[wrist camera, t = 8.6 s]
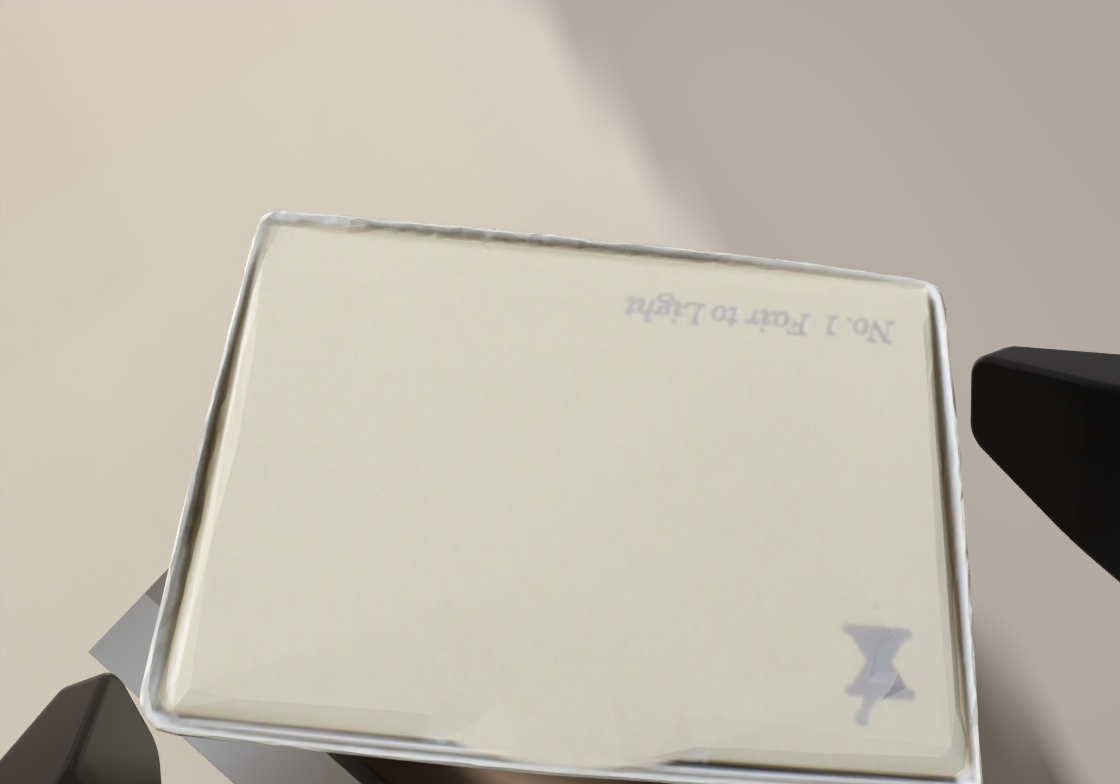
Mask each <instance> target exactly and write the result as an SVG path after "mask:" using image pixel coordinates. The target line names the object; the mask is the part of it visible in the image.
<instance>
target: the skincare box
mask: <svg viewBox="0 0 1120 784" xmlns="http://www.w3.org/2000/svg"><path fill="white" fill-rule="evenodd" d="M140 706H141V709H142V712H143V715H144V716H145V717H146V718H147V719H148V721H149V722H150V723H151V724H152V726H153V727H154V728H155V729H156V730H158V731H162V732H166V733H170V734H174V735H178V736H186V737H195V738H204V739H213V740H222V741H232V742H241V743H249V744H257V745H265V746H273V747H282V748H291V749H301V750H310V751H319V752H328V753H338V754H347V755H357V756H366V757H376V758H385V759H395V760H404V761H413V762H423V763H432V764H442V765H451V766H461V767H470V768H480V769H490V770H501V771H511V772H521V773H531V774H541V775H554V776H569V777H585V778H600V779H615V780H631V781H646V782H661V783H672V784H983V776H982V764H981V754H980V745H979V734H978V695H977V681H976V672H975V650H974V642H973V633H972V605H971V599H970V570H969V563H968V550H967V540H966V528H965V516H964V503H963V492H962V478H961V452H960V445H959V435H958V426H957V415H956V405H955V397H954V387H953V379H952V370H951V360H950V352H949V342H948V334H947V327H946V308H945V304H944V301H943V297H942V294H941V293H940V291H939V290H938V289H937V288H936V286H935V285H933V284H932V283H930V282H926V281H922V280H917V279H913V278H907V277H899V276H891V275H885V274H878V273H872V272H867V271H861V270H849V269H842V268H837V267H831V266H825V265H818V264H812V263H804V262H795V261H787V260H775V259H767V258H760V257H753V256H746V255H737V254H728V253H714V252H706V251H698V250H691V249H683V248H674V247H665V246H657V245H648V244H640V243H632V242H614V241H601V240H591V239H582V238H575V237H568V236H562V235H556V234H546V235H543V234H535V233H531V232H516V231H505V230H495V229H486V228H477V227H468V226H459V225H442V224H425V223H416V222H408V221H399V220H390V219H375V218H365V217H357V216H350V215H328V214H319V213H299V212H292V211H271V212H269V213H267V214H266V215H264V216H263V217H262V218H261V219H260V221H259V223H258V225H257V227H256V231H255V234H254V237H253V241H252V244H251V248H250V251H249V255H248V259H247V263H246V267H245V272H244V276H243V280H242V285H241V288H240V292H239V295H238V299H237V302H236V305H235V309H234V312H233V316H232V319H231V323H230V327H229V331H228V334H227V338H226V343H225V347H224V351H223V355H222V359H221V363H220V367H219V371H218V374H217V378H216V381H215V384H214V387H213V392H212V396H211V400H210V405H209V409H208V412H207V416H206V420H205V423H204V427H203V431H202V436H201V440H200V445H199V449H198V453H197V458H196V461H195V465H194V469H193V472H192V476H191V480H190V484H189V487H188V491H187V495H186V499H185V503H184V506H183V510H182V514H181V518H180V521H179V525H178V530H177V534H176V539H175V543H174V547H173V552H172V556H171V561H170V565H169V570H168V574H167V578H166V583H165V587H164V592H163V596H162V601H161V605H160V610H159V614H158V618H157V622H156V626H155V630H154V634H153V638H152V642H151V647H150V651H149V655H148V660H147V664H146V668H145V673H144V677H143V682H142V686H141V691H140Z"/></svg>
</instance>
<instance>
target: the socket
mask: <svg viewBox="0 0 1120 784" xmlns="http://www.w3.org/2000/svg"><path fill="white" fill-rule="evenodd" d="M168 570H169V568H168ZM168 570H167V571H166V572H165V573H164V574H163V575H162V576H161V577H160V578H159V579H158V580H157V581H156V582H155V583H154V584H153V585H152V586H151V587H150V588H149V589H148V590H147V591H146V592H145V594H144V595H143V596H142V597H141V598H140V599H139V600H138V601H137V602H136V603H135V604H134V605H133V606H132V607H131V608H130V609H129V610H128V611H127V612H126V613H125V614H124V615H123V616H122V618H121V619H120V620H119V621H118V622H117V623H116V624H115V625H114V626H113V627H112V628H111V629H110V630H109V631H108V632H107V633H106V634H105V635H104V636H103V637H102V638H101V639H100V640H99V642H98V643H97V644H96V645H95V646H94V647H93V648H92V649H91V650H90V651H89V653H90V654H91V655H92V656H93V657H94V658H96V659H97V660H98V661H99V662H100V663H101V664H102V665H103V666H104V667H106V668H107V669H108V670H109V671H110V672H111V673H112V674H114V675H116V676H117V677H118V678H119V679H120V680H121V681H122V683H123V684H124V685H125V686H127V687H128V688H129V689H130V690H131V691H132V692H133V693H134V694H135V695H137V696H138V697H139V698H140V691H141V686H142V682H143V677H144V673H145V668H146V664H147V660H148V655H149V651H150V647H151V642H152V638H153V634H154V630H155V626H156V622H157V618H158V614H159V610H160V605H161V601H162V596H163V592H164V587H165V583H166V578H167V574H168ZM182 737H183V738H184V739H185V740H186V741H187V742H189V743H190V744H191V745H192V746H193V747H194V748H195V749H196V750H197V751H198V752H200V753H201V754H202V755H203V756H204V757H205V758H206V759H207V760H208V761H210V762H211V763H212V764H213V765H214V766H215V767H216V768H217V769H218V770H220V771H221V772H222V773H223V774H224V775H225V776H226V777H227V778H228V779H229V780H231V781H232V782H233V783H234V784H672V783H661V782H646V781H631V780H615V779H600V778H585V777H569V776H554V775H541V774H531V773H521V772H511V771H501V770H490V769H480V768H470V767H461V766H451V765H442V764H432V763H423V762H413V761H404V760H395V759H385V758H376V757H366V756H357V755H347V754H338V753H328V752H319V751H310V750H301V749H291V748H282V747H273V746H265V745H257V744H249V743H241V742H232V741H222V740H213V739H204V738H195V737H186V736H182Z"/></svg>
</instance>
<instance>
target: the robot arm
mask: <svg viewBox="0 0 1120 784" xmlns="http://www.w3.org/2000/svg"><path fill="white" fill-rule="evenodd" d="M971 428H972V433H973V435H974V437H975V439H976V441H977V442H978V444H979V446H980V447H981V448H982V449H983V450H984V451H985V452H986V453H987V454H988V455H989V456H990V457H991V458H992V459H993V460H994V461H995V462H996V464H997V465H998V466H1000V468H1001V469H1002V470H1003V471H1004V472H1005V473H1006V474H1007V475H1008V476H1009V477H1010V478H1011V479H1012V480H1013V481H1014V482H1015V483H1016V484H1017V485H1018V486H1019V487H1020V488H1021V489H1022V490H1023V491H1024V492H1025V493H1026V494H1027V495H1028V496H1029V497H1030V498H1031V500H1032V501H1033V502H1034V503H1035V504H1036V505H1037V506H1038V507H1039V508H1040V509H1041V510H1042V511H1043V512H1044V513H1045V514H1046V515H1047V516H1048V517H1049V518H1050V519H1051V520H1052V521H1053V522H1054V523H1055V524H1056V525H1057V526H1058V527H1059V528H1060V529H1061V530H1062V531H1063V532H1064V533H1065V534H1066V535H1067V536H1068V537H1069V538H1070V539H1071V540H1072V541H1073V542H1074V543H1075V544H1076V545H1077V546H1078V547H1079V548H1081V549H1082V550H1083V551H1084V552H1085V553H1086V554H1087V555H1088V556H1090V557H1091V558H1092V559H1093V560H1094V561H1095V562H1097V563H1098V564H1099V565H1100V566H1101V567H1102V568H1104V569H1105V570H1106V571H1107V572H1108V573H1110V574H1111V575H1112V576H1113V577H1114V578H1115V579H1117V580H1118V581H1119V582H1120V355H1119V354H1106V353H1094V352H1093V353H1092V352H1081V351H1068V350H1056V349H1043V348H1030V347H1017V346H1013V347H1007V348H1003V349H1001V350H998V351H995V352H993V353H990V354H987V355H984V356H982V357H980V358H979V359H978V360H977V361H976V362H975V363H974V366H973V368H972V373H971ZM0 784H161V774H160V762H159V756H158V751H157V747H156V744H155V741H154V739H153V736H152V734H151V732H150V731H149V729H148V727H147V725H146V724H145V722H144V720H143V718H142V716H141V715H140V713H139V711H138V709H137V707H136V706H135V704H134V702H133V700H132V699H131V697H130V695H129V693H128V691H127V690H126V688H125V686H124V684H123V683H122V681H121V680H120V679H119V678H118V677H117V676H116V675H114V674H111V673H103V674H100V675H97V676H95V677H92V678H89V679H86V680H84V681H81V682H78V683H75V684H72V685H70V686H67V687H65V688H64V689H62V690H61V691H60V692H59V693H58V694H57V695H56V696H55V697H54V699H53V700H52V701H51V702H50V703H49V704H48V705H47V707H46V708H45V709H44V710H43V711H42V712H41V714H40V715H39V716H38V717H37V718H36V719H35V721H34V722H33V723H32V724H31V725H30V726H29V727H28V729H27V730H26V731H25V732H24V733H23V734H22V736H21V737H20V738H19V739H18V740H17V741H16V743H15V744H14V745H13V746H12V747H11V748H10V749H9V751H8V752H7V753H6V754H5V755H4V756H3V758H2V759H1V760H0Z"/></svg>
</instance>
